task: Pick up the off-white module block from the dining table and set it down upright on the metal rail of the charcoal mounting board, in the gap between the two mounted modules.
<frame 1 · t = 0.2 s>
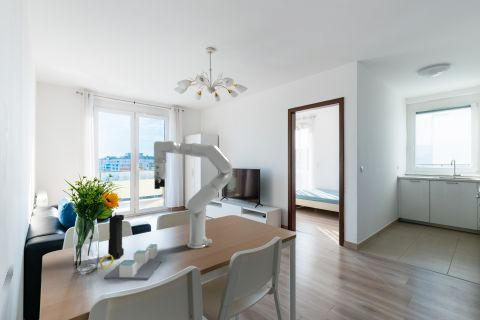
hand: (159, 187, 145), 36 cm above the table, tool pointing down, fingers open, 9 cm apart
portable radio: (116, 256, 127), on the table
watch: (106, 266, 115), on the table
mounting board: (135, 270, 112), on the table
module block: (151, 256, 127), on the table
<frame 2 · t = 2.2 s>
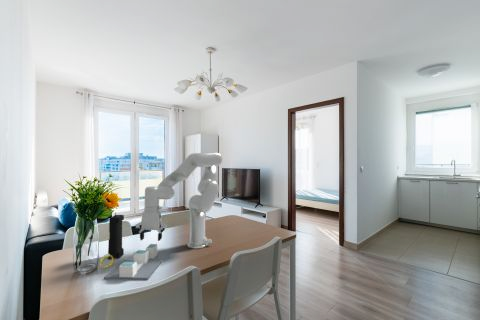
hand: (150, 239, 127), 10 cm above the table, tool pointing down, fingers open, 9 cm apart
nothing on the table moved.
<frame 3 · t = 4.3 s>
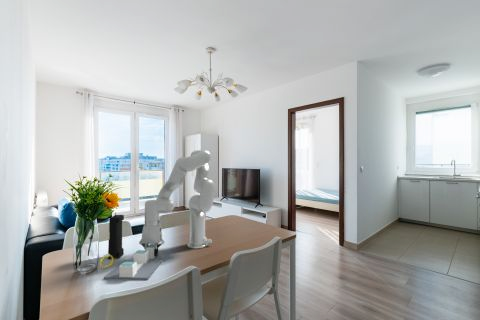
hand: (151, 255, 127), 1 cm above the table, tool pointing down, fingers closed on module block, 4 cm apart
module block: (151, 256, 127), on the table, touching gripper
everything else where it was.
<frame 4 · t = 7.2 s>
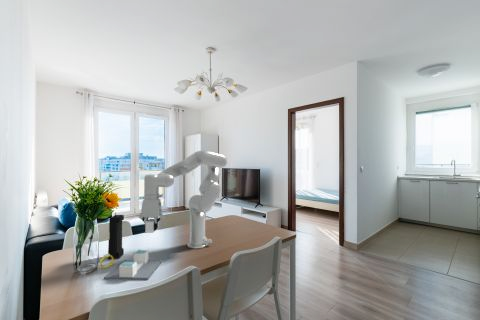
hand: (151, 229, 127), 15 cm above the table, tool pointing down, fingers closed on module block, 4 cm apart
module block: (151, 231, 127), point 14 cm above the table, touching gripper
everything else where it was.
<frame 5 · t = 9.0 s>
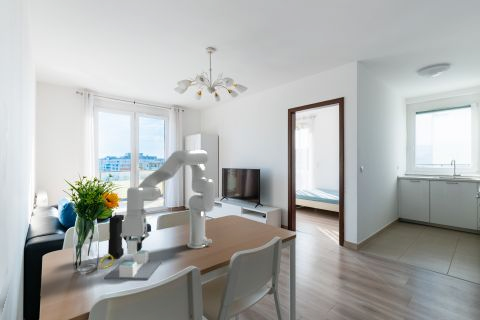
hand: (134, 249, 111), 10 cm above the table, tool pointing down, fingers closed on module block, 4 cm apart
module block: (134, 251, 111), point 9 cm above the table, touching gripper
everything else where it was.
when the fingers open (4 cm above the table, at t = 10.5 s): module block drops 1 cm, resting on mounting board.
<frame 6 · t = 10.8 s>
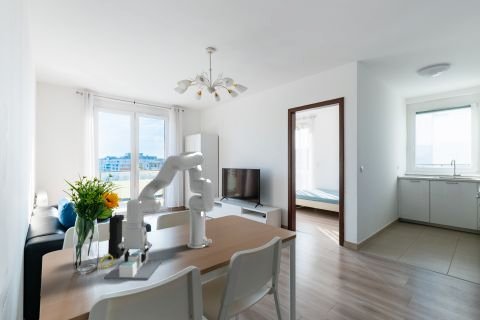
hand: (135, 261, 112), 4 cm above the table, tool pointing down, fingers open, 7 cm apart
module block: (135, 266, 112), point 2 cm above the table, touching mounting board
everything else where it was.
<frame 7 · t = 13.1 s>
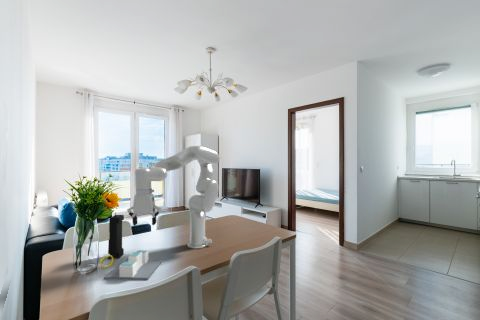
hand: (144, 224, 119), 20 cm above the table, tool pointing down, fingers open, 9 cm apart
nothing on the table moved.
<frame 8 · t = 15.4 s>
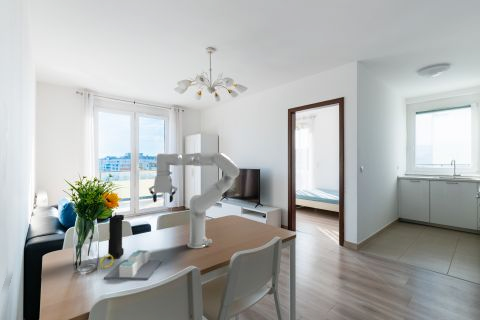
hand: (163, 202, 139), 28 cm above the table, tool pointing down, fingers open, 9 cm apart
nothing on the table moved.
at the end: module block 0.1 cm off-centre on the mounting board, point 1.6 cm above the mounting board's base; module block tilted 0°; the gripper is holding nothing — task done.
